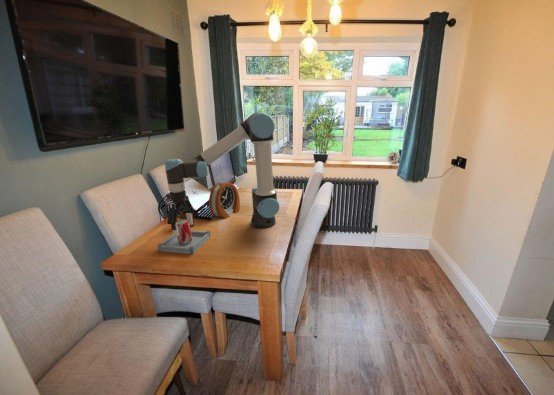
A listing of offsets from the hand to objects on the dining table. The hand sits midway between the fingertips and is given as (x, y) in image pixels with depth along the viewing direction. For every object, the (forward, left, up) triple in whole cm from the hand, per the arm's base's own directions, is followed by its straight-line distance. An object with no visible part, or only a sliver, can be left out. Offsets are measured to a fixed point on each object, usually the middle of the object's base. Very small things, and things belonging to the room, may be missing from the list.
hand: (183, 229), depth 137 cm
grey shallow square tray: (0, 0, -8) cm, 8 cm away
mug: (+12, -19, -8) cm, 24 cm away
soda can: (0, 0, -7) cm, 7 cm away
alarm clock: (-5, -44, -8) cm, 45 cm away
